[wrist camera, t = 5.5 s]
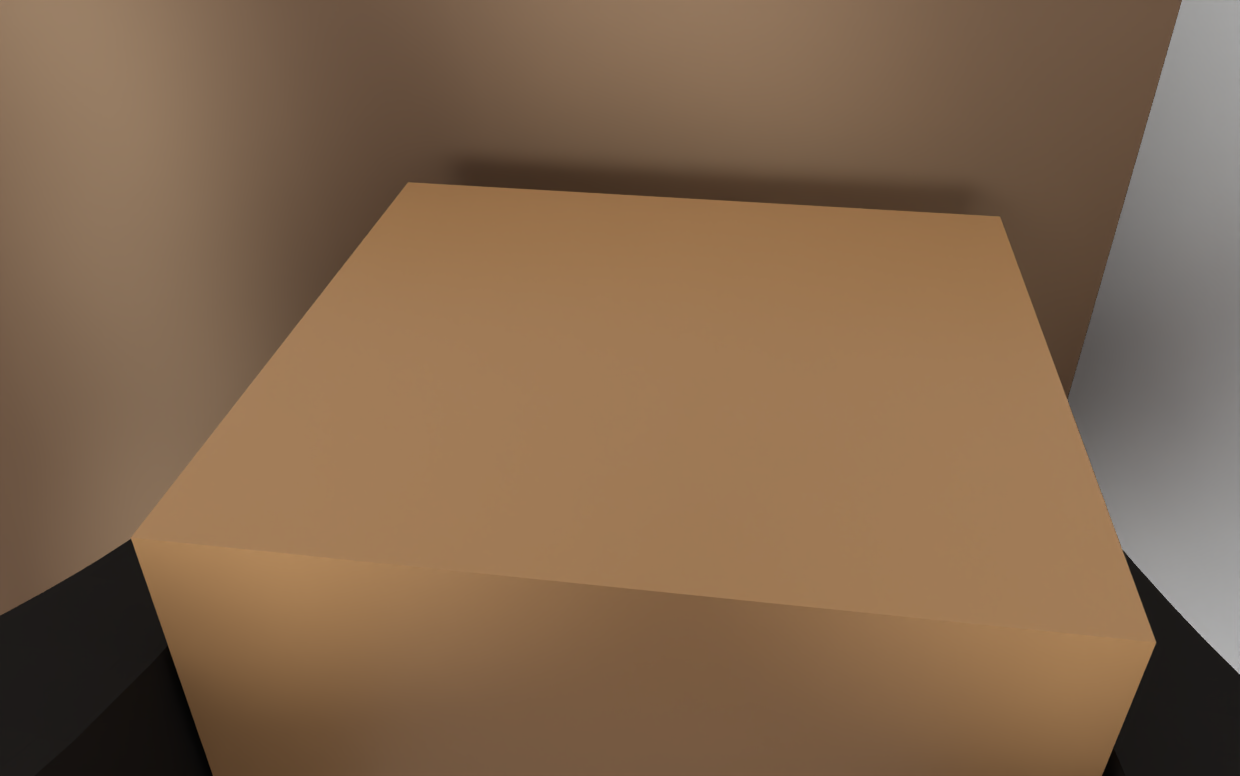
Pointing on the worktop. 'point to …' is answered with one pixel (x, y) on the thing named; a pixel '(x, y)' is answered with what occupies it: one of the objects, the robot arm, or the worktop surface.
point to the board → (475, 176)
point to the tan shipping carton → (652, 507)
